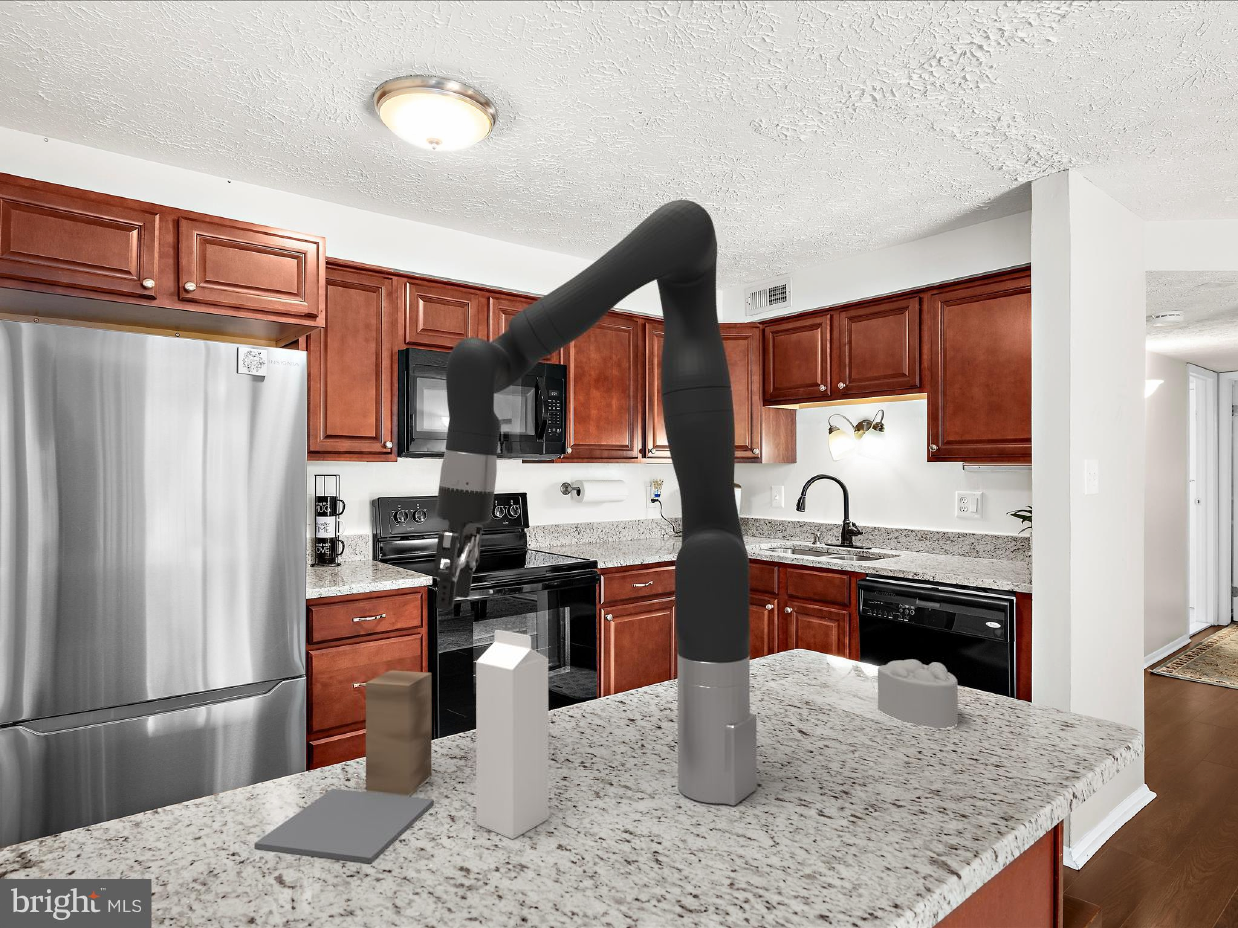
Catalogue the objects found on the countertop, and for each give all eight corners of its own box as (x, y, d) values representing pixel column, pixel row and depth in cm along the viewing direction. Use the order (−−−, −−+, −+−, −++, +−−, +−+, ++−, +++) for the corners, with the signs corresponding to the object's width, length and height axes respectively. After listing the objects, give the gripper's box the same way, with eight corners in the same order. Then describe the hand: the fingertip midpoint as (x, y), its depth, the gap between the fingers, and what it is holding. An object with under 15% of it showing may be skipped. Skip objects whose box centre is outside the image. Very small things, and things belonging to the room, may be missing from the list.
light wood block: (390, 774, 99) (390, 670, 99) (431, 778, 97) (431, 672, 98) (365, 793, 93) (365, 682, 93) (408, 797, 92) (408, 685, 92)
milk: (512, 806, 89) (512, 624, 90) (549, 819, 86) (549, 630, 86) (474, 825, 84) (475, 633, 85) (512, 840, 81) (512, 640, 81)
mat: (332, 793, 93) (332, 788, 93) (433, 803, 90) (433, 799, 90) (254, 848, 79) (254, 842, 79) (370, 863, 76) (370, 857, 76)
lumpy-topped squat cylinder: (920, 702, 129) (919, 653, 129) (975, 726, 117) (975, 672, 117) (869, 708, 126) (869, 657, 126) (921, 733, 114) (920, 677, 114)
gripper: (481, 491, 93) (466, 617, 93) (504, 487, 107) (491, 596, 107) (424, 484, 93) (409, 609, 94) (454, 481, 108) (441, 590, 108)
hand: (453, 602), depth 101 cm, fingers open, 8 cm apart
